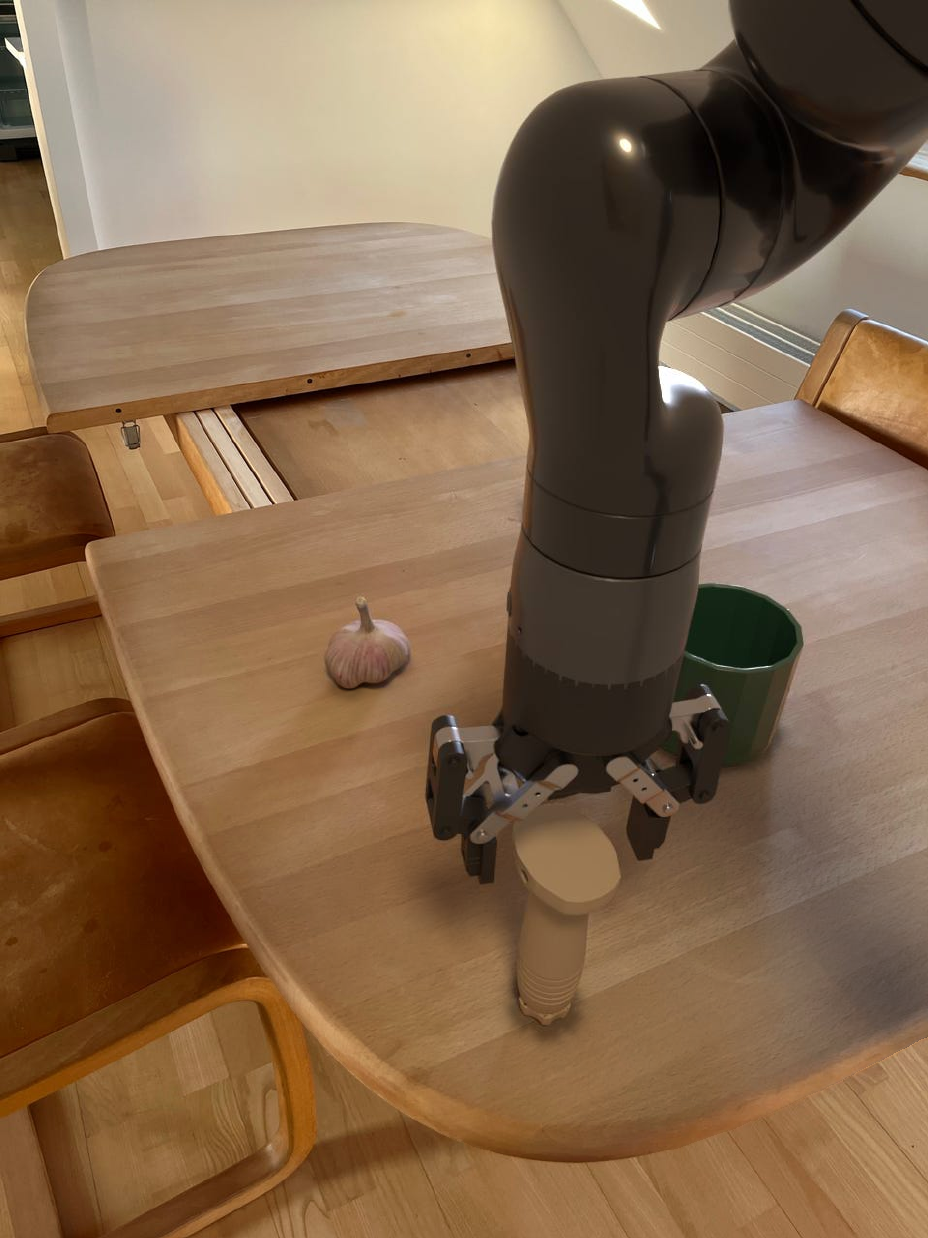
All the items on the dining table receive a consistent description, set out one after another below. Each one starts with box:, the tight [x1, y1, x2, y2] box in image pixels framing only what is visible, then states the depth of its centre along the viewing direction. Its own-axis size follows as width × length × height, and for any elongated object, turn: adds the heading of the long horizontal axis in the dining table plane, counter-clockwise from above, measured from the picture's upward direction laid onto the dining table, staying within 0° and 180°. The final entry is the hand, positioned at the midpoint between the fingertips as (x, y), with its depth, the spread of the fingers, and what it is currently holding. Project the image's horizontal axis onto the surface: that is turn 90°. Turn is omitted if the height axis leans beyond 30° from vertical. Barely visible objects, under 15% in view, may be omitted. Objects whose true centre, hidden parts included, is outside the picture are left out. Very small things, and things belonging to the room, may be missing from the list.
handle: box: [512, 802, 622, 1026], centre depth 53 cm, size 5×6×15 cm
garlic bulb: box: [324, 596, 412, 689], centre depth 80 cm, size 8×7×8 cm
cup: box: [661, 582, 805, 768], centre depth 75 cm, size 11×11×10 cm
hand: (561, 858), depth 49 cm, fingers open, 8 cm apart
